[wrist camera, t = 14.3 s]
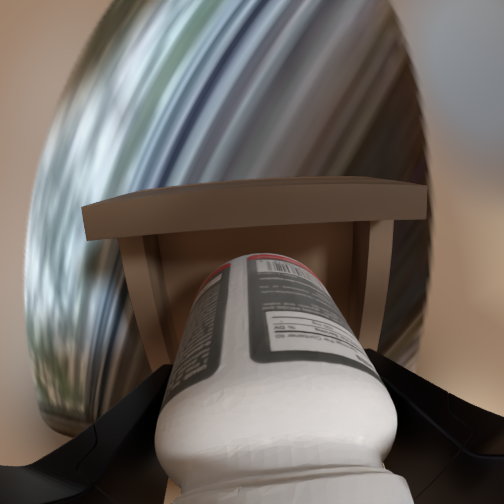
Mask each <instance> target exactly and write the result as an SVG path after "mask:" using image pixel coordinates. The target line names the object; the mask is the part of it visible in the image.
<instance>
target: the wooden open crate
mask: <svg viewBox="0 0 504 504" xmlns="http://www.w3.org/2000/svg"><path fill="white" fill-rule="evenodd" d="M81 208H82V215H83V222H84V228H85V234H86V239H87V241H91V240H100V239H110V238H118V242H119V248H120V253H121V258H122V263H123V268H124V273H125V278H126V282H127V287H128V291H129V295H130V299H131V303H132V307H133V311H134V315H135V318H136V322H137V325H138V329H139V332H140V336H141V339H142V342H143V346H144V349H145V352H146V355H147V358H148V361H149V364H150V367H151V370H152V373H153V372H154V371H156V370H157V369H158V368H159V367H160V366H161V365H163V364H174V362H175V358H176V355H177V352H178V349H179V346H180V342H181V339H182V336H183V333H184V330H185V327H186V324H187V320H188V317H189V314H190V312H191V308H192V305H193V302H194V299H195V297H196V295H197V293H198V291H199V289H200V287H201V285H202V284H203V282H204V281H205V280H206V279H207V277H208V276H209V275H210V274H211V273H212V272H213V271H215V270H216V269H217V268H219V267H220V266H221V265H223V264H225V263H227V262H228V261H230V260H233V259H235V258H238V257H241V256H245V255H249V254H257V253H271V254H278V255H283V256H286V257H289V258H292V259H294V260H296V261H298V262H300V263H301V264H303V265H305V266H306V267H307V268H308V269H310V270H311V271H312V272H313V273H314V274H315V275H316V276H317V277H318V279H319V280H320V281H321V282H322V284H323V285H324V287H325V288H326V290H327V292H328V293H329V295H330V296H331V298H332V299H333V301H334V303H335V304H336V306H337V307H338V309H339V311H340V312H341V314H342V315H343V317H344V319H345V320H346V322H347V323H348V325H349V327H350V328H351V330H352V332H353V333H354V335H355V337H356V338H357V340H358V341H359V343H360V345H361V346H362V348H363V349H367V348H371V349H373V350H374V351H377V347H378V342H379V337H380V332H381V326H382V321H383V315H384V309H385V303H386V296H387V289H388V281H389V272H390V263H391V252H392V239H393V222H394V220H407V219H426V210H427V186H425V185H419V184H413V183H407V182H400V181H393V180H386V179H378V178H370V177H353V176H327V177H286V178H264V179H247V180H233V181H220V182H209V183H198V184H189V185H180V186H171V187H163V188H155V189H147V190H140V191H136V192H133V193H129V194H125V195H121V196H118V197H114V198H110V199H107V200H103V201H100V202H96V203H93V204H90V205H86V206H83V207H81Z"/></svg>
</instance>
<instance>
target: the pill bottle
mask: <svg viewBox="0 0 504 504" xmlns="http://www.w3.org/2000/svg"><path fill="white" fill-rule="evenodd" d="M396 430H397V414H396V410H395V406H394V404H393V402H392V399H391V397H390V395H389V393H388V391H387V389H386V387H385V385H384V383H383V382H382V380H381V378H380V377H379V375H378V373H377V372H376V370H375V368H374V366H373V364H372V363H371V362H370V360H369V358H368V357H367V355H366V353H365V351H364V350H363V348H362V346H361V345H360V343H359V341H358V340H357V338H356V337H355V335H354V333H353V332H352V330H351V328H350V327H349V325H348V323H347V322H346V320H345V319H344V317H343V315H342V314H341V312H340V311H339V309H338V307H337V306H336V304H335V303H334V301H333V299H332V298H331V296H330V295H329V293H328V292H327V290H326V288H325V287H324V285H323V284H322V282H321V281H320V280H319V279H318V277H317V276H316V275H315V274H314V273H313V272H312V271H311V270H310V269H308V268H307V267H306V266H305V265H303V264H301V263H300V262H298V261H296V260H294V259H292V258H289V257H286V256H283V255H278V254H271V253H257V254H249V255H245V256H241V257H238V258H235V259H233V260H230V261H228V262H227V263H225V264H223V265H221V266H220V267H219V268H217V269H216V270H215V271H213V272H212V273H211V274H210V275H209V276H208V277H207V279H206V280H205V281H204V282H203V284H202V285H201V287H200V289H199V291H198V293H197V295H196V297H195V299H194V302H193V305H192V308H191V312H190V314H189V317H188V320H187V324H186V327H185V330H184V333H183V336H182V339H181V342H180V346H179V349H178V352H177V355H176V358H175V362H174V365H173V368H172V372H171V375H170V378H169V381H168V385H167V388H166V392H165V395H164V399H163V402H162V406H161V409H160V413H159V416H158V421H157V426H156V432H155V450H156V455H157V458H158V460H159V463H160V465H161V467H162V468H163V470H164V471H165V473H166V474H167V475H168V477H169V478H170V479H171V480H172V481H173V482H174V483H175V484H176V485H177V486H179V487H180V488H181V495H180V496H179V497H177V498H176V499H175V500H174V502H173V503H172V504H414V502H413V499H412V496H411V492H410V489H409V486H408V484H407V481H406V479H405V478H403V477H402V476H399V475H396V474H393V473H392V472H391V471H389V470H387V469H384V466H383V464H382V462H383V461H384V460H385V458H386V457H387V455H388V454H389V452H390V450H391V448H392V445H393V443H394V440H395V436H396Z"/></svg>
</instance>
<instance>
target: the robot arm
mask: <svg viewBox="0 0 504 504" xmlns="http://www.w3.org/2000/svg"><path fill="white" fill-rule="evenodd" d="M363 350H364V351H365V353H366V355H367V357H368V358H369V360H370V362H371V363H372V364H373V366H374V368H375V370H376V372H377V373H378V375H379V377H380V378H381V380H382V382H383V383H384V385H385V387H386V389H387V391H388V393H389V395H390V397H391V399H392V402H393V404H394V406H395V410H396V414H397V430H396V436H395V440H394V443H393V445H392V448H391V450H390V452H389V454H388V455H387V457H386V458H385V460H384V461H383V463H384V465H385V468H386V469H387V470H389V471H391V472H392V473H393V474H396V475H399V476H402V477H403V478H405V479H406V481H407V484H408V486H409V489H410V492H411V496H412V499H413V502H414V504H504V417H502V416H500V415H497V414H495V413H492V412H489V411H487V410H484V409H482V408H480V407H477V406H475V405H473V404H470V403H468V402H466V401H464V400H462V399H460V398H458V397H456V396H455V395H453V394H451V393H448V392H447V391H445V390H443V389H442V388H440V387H438V386H436V385H434V384H433V383H431V382H429V381H427V380H425V379H424V378H422V377H420V376H418V375H416V374H415V373H413V372H411V371H409V370H408V369H406V368H404V367H402V366H401V365H399V364H397V363H395V362H393V361H392V360H390V359H388V358H386V357H385V356H383V355H381V354H380V353H378V352H376V351H374V350H373V349H371V348H367V349H363ZM173 365H174V364H163V365H161V366H160V367H159V368H158V369H157V370H156V371H154V372H153V373H152V374H151V375H150V376H149V377H147V378H146V379H145V380H144V381H143V382H142V383H140V384H139V385H138V386H137V387H136V388H135V389H133V390H132V391H131V392H130V393H129V394H127V395H126V396H125V397H124V398H123V399H121V400H120V401H119V402H118V403H117V404H115V405H114V406H113V407H112V408H111V409H109V410H108V411H107V412H106V413H105V414H103V415H102V416H101V417H100V418H98V419H97V420H96V421H95V422H94V424H91V425H90V426H89V427H87V428H86V429H85V430H84V431H82V432H81V433H80V434H78V435H77V436H76V437H74V438H73V439H71V440H70V441H68V442H67V443H65V444H64V445H62V446H61V447H59V448H58V449H56V450H54V451H53V452H51V453H50V454H48V455H46V456H44V457H43V458H41V459H39V460H38V461H36V462H34V463H32V464H29V465H26V466H18V467H17V466H2V465H0V504H164V499H165V493H166V488H167V483H168V478H169V477H168V475H167V474H166V473H165V471H164V470H163V468H162V467H161V465H160V463H159V460H158V458H157V455H156V450H155V432H156V426H157V421H158V416H159V413H160V409H161V406H162V402H163V399H164V395H165V392H166V388H167V385H168V381H169V378H170V375H171V372H172V368H173Z"/></svg>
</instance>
